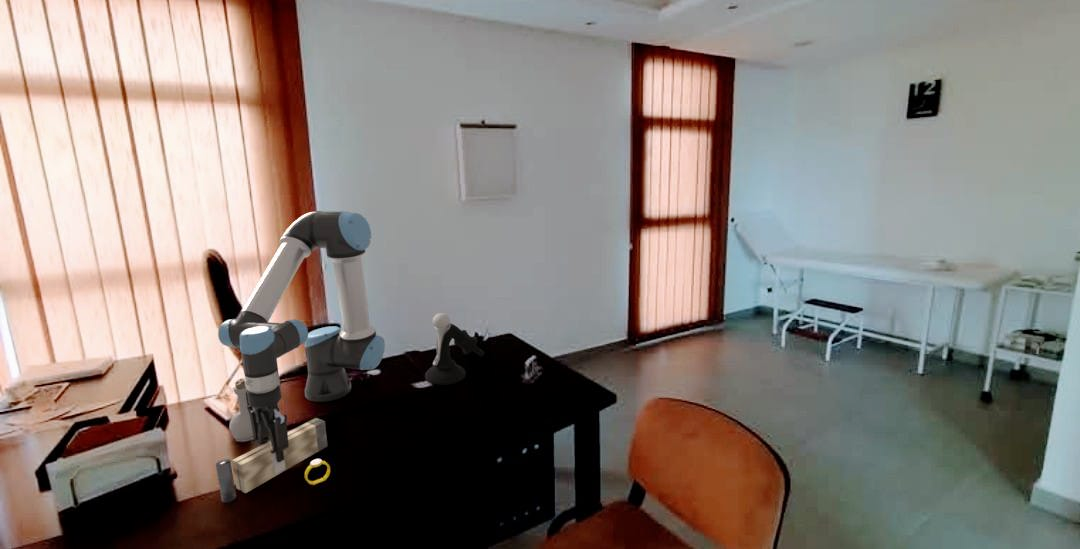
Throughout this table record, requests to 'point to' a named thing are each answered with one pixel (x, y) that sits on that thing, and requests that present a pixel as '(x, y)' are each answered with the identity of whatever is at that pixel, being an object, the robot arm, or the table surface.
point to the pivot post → (225, 480)
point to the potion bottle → (241, 415)
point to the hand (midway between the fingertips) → (274, 468)
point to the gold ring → (315, 464)
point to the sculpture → (444, 366)
